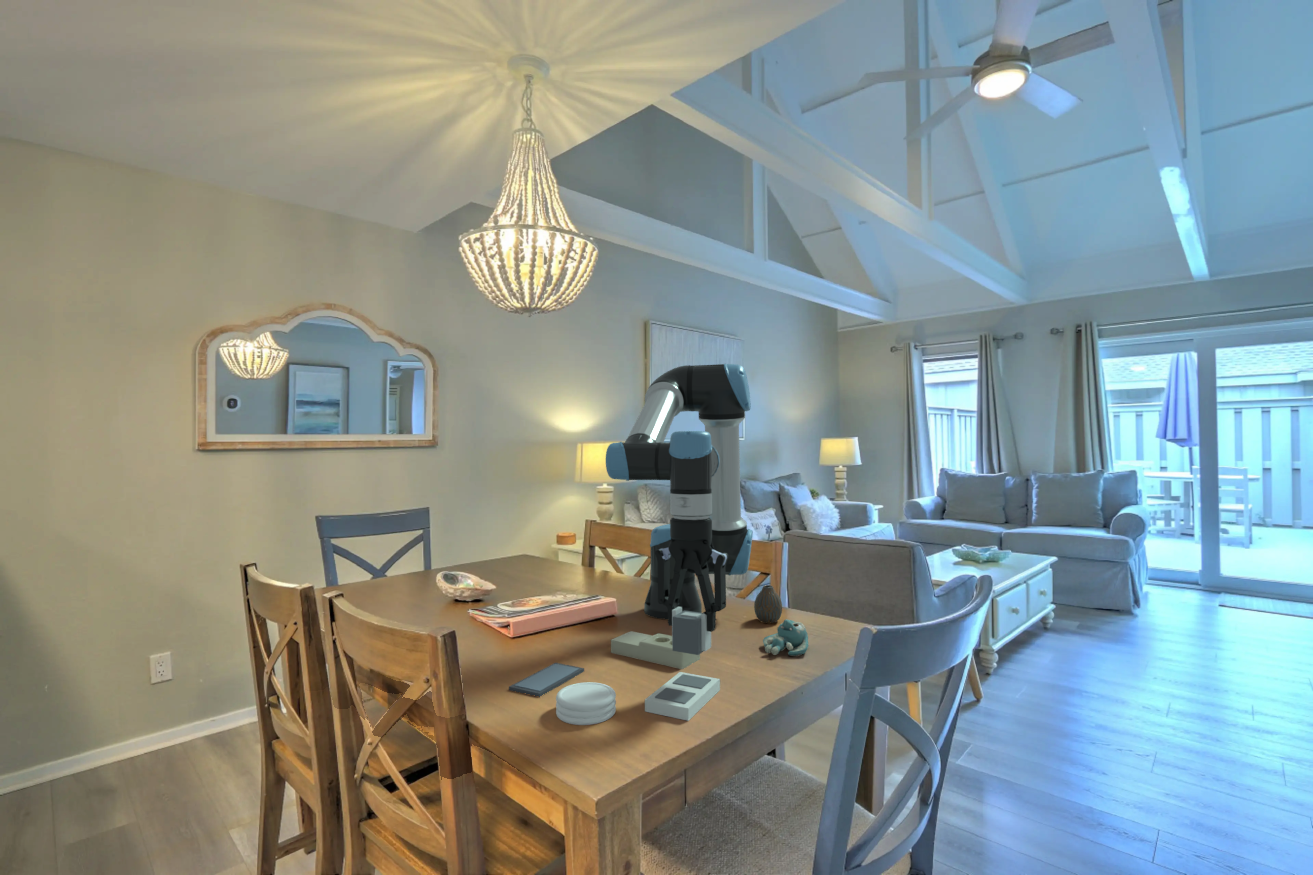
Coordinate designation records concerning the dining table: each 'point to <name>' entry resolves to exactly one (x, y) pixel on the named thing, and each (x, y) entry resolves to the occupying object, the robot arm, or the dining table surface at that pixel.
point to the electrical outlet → (652, 649)
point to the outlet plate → (682, 696)
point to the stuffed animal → (788, 639)
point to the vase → (768, 605)
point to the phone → (546, 679)
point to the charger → (687, 632)
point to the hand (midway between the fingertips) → (691, 646)
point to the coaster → (585, 703)
